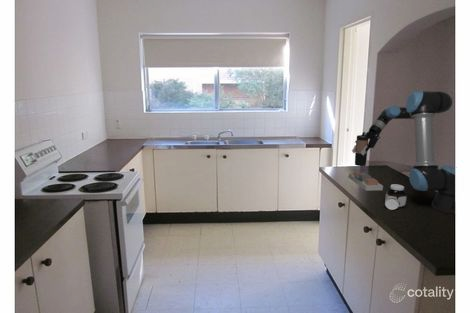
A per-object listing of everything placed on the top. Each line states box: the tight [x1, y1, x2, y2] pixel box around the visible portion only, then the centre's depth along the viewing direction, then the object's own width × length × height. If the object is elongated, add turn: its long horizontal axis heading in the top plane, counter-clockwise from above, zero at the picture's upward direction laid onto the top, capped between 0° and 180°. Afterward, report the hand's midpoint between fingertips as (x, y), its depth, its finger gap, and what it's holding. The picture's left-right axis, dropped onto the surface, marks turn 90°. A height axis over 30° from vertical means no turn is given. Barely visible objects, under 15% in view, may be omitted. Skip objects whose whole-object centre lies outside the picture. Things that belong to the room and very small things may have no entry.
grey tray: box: [347, 172, 384, 192], centre depth 228 cm, size 28×11×3 cm, turn 4°
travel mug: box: [354, 134, 369, 167], centre depth 233 cm, size 8×8×20 cm
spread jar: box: [384, 183, 408, 211], centre depth 187 cm, size 12×11×12 cm
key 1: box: [353, 172, 364, 177], centre depth 237 cm, size 6×6×3 cm
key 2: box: [364, 177, 379, 185], centre depth 219 cm, size 6×6×3 cm
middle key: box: [359, 173, 372, 181], centre depth 228 cm, size 6×6×3 cm
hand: (357, 153), depth 231 cm, fingers closed on travel mug, 7 cm apart
